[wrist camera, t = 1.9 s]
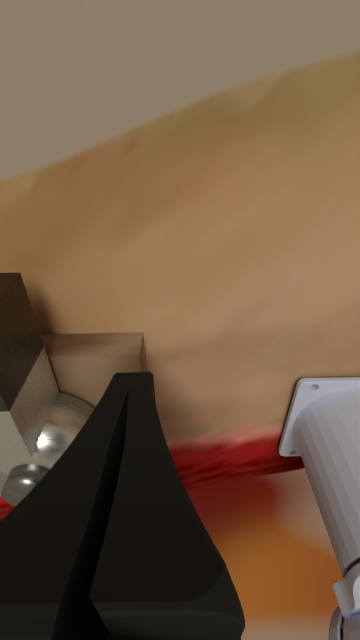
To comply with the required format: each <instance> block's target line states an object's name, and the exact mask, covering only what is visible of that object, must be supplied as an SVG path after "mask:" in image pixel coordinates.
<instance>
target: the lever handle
mask: <svg viewBox="0 0 360 640" xmlns="http://www.w3.org/2000/svg"><path fill="white" fill-rule="evenodd" d="M93 410H94V408H92V407H91V406H90V405H89V404H87V403H86V402H84V401H82V400H80V399H78V398H76V397H74V396H71V395H68V394H65V393H61V392H59V390H58V387H57V384H56V381H55V378H54V375H53V372H52V369H51V366H50V363H49V360H48V357H47V354H46V351H45V347H44V344H43V341H42V338H41V335H40V332H39V329H38V326H37V323H36V320H35V317H34V314H33V311H32V308H31V304H30V301H29V298H28V295H27V292H26V289H25V286H24V283H23V280H22V277H21V274H20V273H0V496H1V497H2V498H3V499H4V500H5V501H6V502H7V503H9V504H11V505H13V506H16V505H17V504H18V503H20V502H21V500H22V499H23V498H24V497H25V496H26V495H27V494H28V493H29V492H30V491H31V490H32V489H33V488H34V487H35V486H36V484H37V483H38V482H39V481H40V480H41V479H42V478H43V477H44V476H45V474H46V473H47V472H48V471H49V470H50V469H51V468H52V466H53V465H54V464H55V463H56V462H57V460H58V459H59V458H60V457H61V455H62V454H63V453H64V452H65V450H66V449H67V448H68V446H69V445H70V444H71V442H72V441H73V440H74V438H75V437H76V436H77V434H78V433H79V431H80V430H81V429H82V427H83V426H84V424H85V423H86V421H87V420H88V418H89V417H90V415H91V414H92V412H93Z"/></svg>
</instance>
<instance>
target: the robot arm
mask: <svg viewBox="0 0 360 640" xmlns="http://www.w3.org/2000/svg"><path fill="white" fill-rule="evenodd" d="M312 385H313V386H312ZM278 451H279V454H280V455H281V456H301V457H302V460H303V463H304V466H305V469H306V472H307V474H308V477H309V480H310V483H311V486H312V489H313V492H314V495H315V497H316V500H317V503H318V506H319V508H320V512H321V514H322V518H323V520H324V523H325V526H326V529H327V532H328V535H329V538H330V540H331V543H332V546H333V549H334V552H335V555H336V558H337V560H338V563H339V566H340V569H341V572H342V575H343V577H344V578H343V579H342V580H340V581H338V582H336V583H333V589H334V592H335V595H336V598H337V601H338V604H339V606H338V607H337V609H336V610H335V611H334V613H333V615H332V618H331V621H330V627H329V640H360V377H345V378H303V379H300V380H299V381H298V382H297V384H296V388H295V391H294V395H293V398H292V402H291V405H290V409H289V413H288V416H287V420H286V423H285V427H284V430H283V434H282V438H281V441H280V445H279V448H278ZM244 628H245V619H244V614H243V610H242V607H241V603H240V600H239V598H238V595H237V592H236V590H235V587H234V584H233V582H232V580H231V577H230V575H229V572H228V570H227V567H226V564H225V562H224V560H223V559H222V557H221V555H220V553H219V552H218V550H217V548H216V547H215V545H214V543H213V541H212V540H211V538H210V536H209V534H208V533H207V531H206V529H205V527H204V525H203V523H202V521H201V520H200V518H199V516H198V514H197V512H196V510H195V508H194V506H193V504H192V502H191V500H190V498H189V496H188V494H187V492H186V490H185V488H184V485H183V483H182V481H181V479H180V476H179V474H178V472H177V469H176V467H175V465H174V462H173V460H172V457H171V454H170V452H169V449H168V446H167V443H166V440H165V437H164V434H163V431H162V428H161V425H160V421H159V417H158V413H157V410H156V405H155V393H154V380H153V374H152V373H150V372H126V373H115V374H114V375H113V377H112V379H111V381H110V383H109V385H108V387H107V389H106V391H105V392H104V394H103V396H102V397H101V399H100V401H99V403H98V404H97V406H96V407H95V409H94V410H93V412H92V414H91V415H90V417H89V418H88V420H87V421H86V423H85V424H84V426H83V427H82V429H81V430H80V431H79V433H78V434H77V436H76V437H75V438H74V440H73V441H72V442H71V444H70V445H69V446H68V448H67V449H66V450H65V452H64V453H63V454H62V455H61V457H60V458H59V459H58V460H57V462H56V463H55V464H54V465H53V466H52V468H51V469H50V470H49V471H48V472H47V473H46V474H45V476H44V477H43V478H42V479H41V480H40V481H39V482H38V483H37V484H36V486H35V487H34V488H33V489H32V490H31V491H30V492H29V493H28V494H27V495H26V496H25V497H24V498H23V499H22V500H21V502H20V503H18V504H17V505H16V506H15V507H14V508H13V509H12V510H11V511H10V512H9V513H8V514H7V515H6V516H5V517H4V518H3V519H2V520H1V521H0V640H241V636H242V633H243V631H244Z"/></svg>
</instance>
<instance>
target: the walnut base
mask: <svg viewBox="0 0 360 640" xmlns="http://www.w3.org/2000/svg"><path fill="white" fill-rule="evenodd" d="M40 335H41V338H42V341H43V344H44V347H45V351H46V354H47V357H48V360H49V363H50V366H51V369H52V372H53V375H54V378H55V381H56V384H57V387H58V390H59V392H61V393H65V394H68V395H71V396H74V397H76V398H78V399H80V400H82V401H84V402H86V403H87V404H89V405H90V406H91V407H92V408H94V409H95V407H96V406H97V404H98V403H99V401H100V399H101V397H102V396H103V394H104V392H105V391H106V389H107V387H108V385H109V383H110V381H111V379H112V377H113V375H114V374H115V373H126V372H147V371H146V361H145V350H144V340H143V333H110V334H40Z"/></svg>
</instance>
